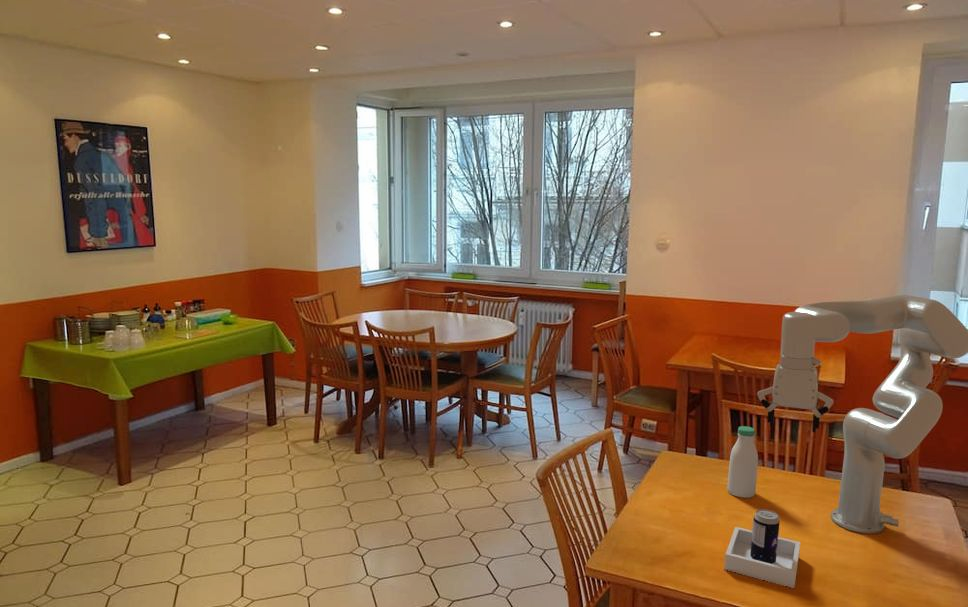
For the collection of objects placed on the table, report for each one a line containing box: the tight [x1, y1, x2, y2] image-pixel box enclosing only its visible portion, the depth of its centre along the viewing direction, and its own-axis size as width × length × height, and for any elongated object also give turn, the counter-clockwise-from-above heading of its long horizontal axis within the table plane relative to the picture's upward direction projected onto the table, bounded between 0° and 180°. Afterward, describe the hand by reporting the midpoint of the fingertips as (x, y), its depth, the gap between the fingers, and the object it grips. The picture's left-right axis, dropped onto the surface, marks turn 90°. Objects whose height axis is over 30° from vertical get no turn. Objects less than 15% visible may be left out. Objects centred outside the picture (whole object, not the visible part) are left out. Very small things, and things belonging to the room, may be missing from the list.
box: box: [724, 526, 801, 589], centre depth 159 cm, size 15×15×4 cm
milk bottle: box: [727, 425, 759, 499], centre depth 195 cm, size 8×8×20 cm
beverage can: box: [750, 508, 781, 564], centre depth 158 cm, size 6×6×12 cm
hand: (792, 427), depth 167 cm, fingers open, 9 cm apart
